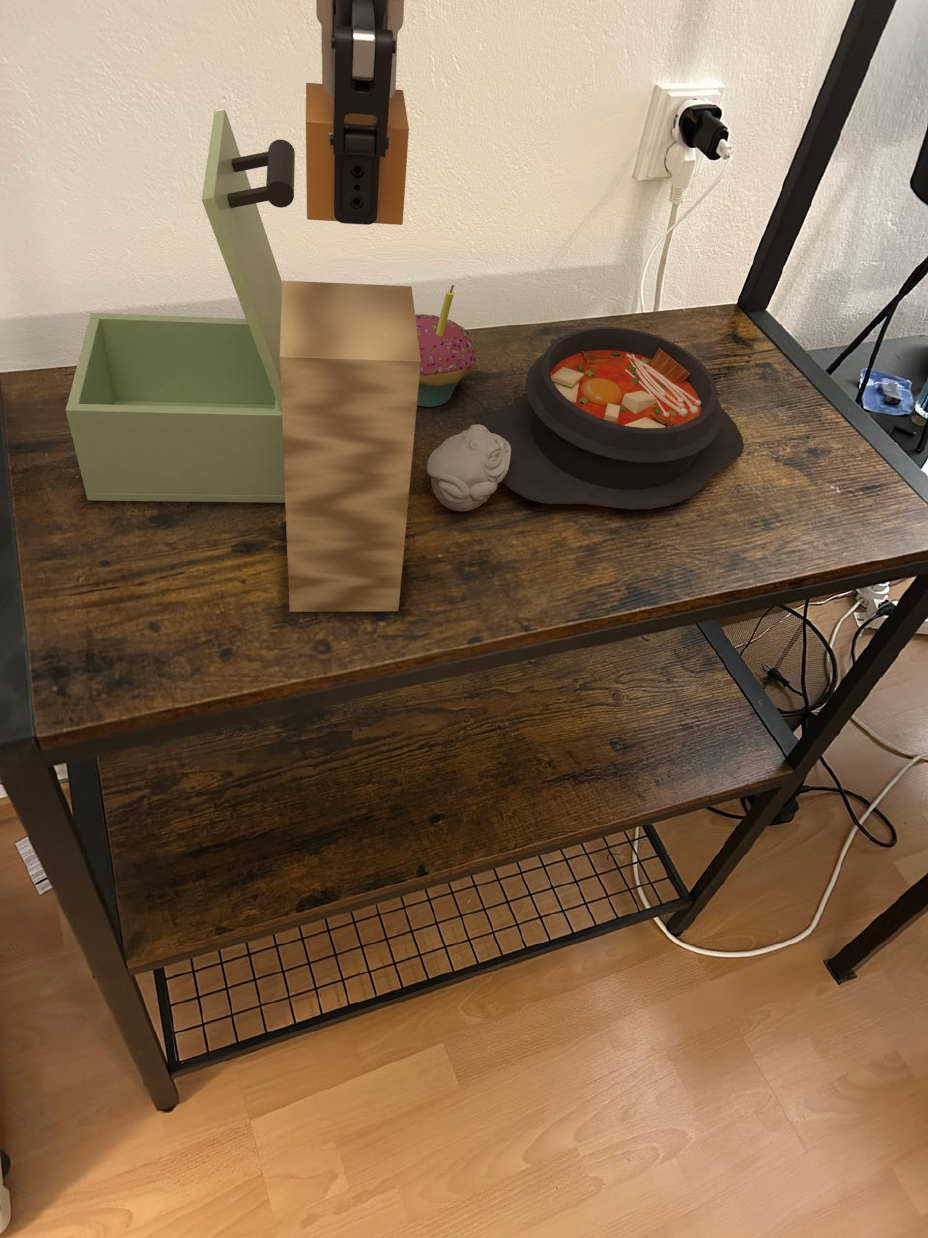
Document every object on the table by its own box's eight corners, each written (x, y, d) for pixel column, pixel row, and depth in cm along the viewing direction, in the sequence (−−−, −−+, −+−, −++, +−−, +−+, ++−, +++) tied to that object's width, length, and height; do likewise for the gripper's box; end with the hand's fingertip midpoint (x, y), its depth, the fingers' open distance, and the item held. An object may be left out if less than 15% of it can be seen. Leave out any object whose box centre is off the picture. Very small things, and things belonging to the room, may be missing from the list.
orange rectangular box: (306, 219, 50) (305, 120, 47) (307, 178, 53) (305, 81, 50) (402, 225, 51) (409, 127, 47) (397, 184, 54) (403, 89, 50)
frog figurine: (515, 517, 80) (528, 451, 75) (438, 536, 78) (446, 469, 73) (483, 471, 84) (494, 405, 79) (409, 487, 81) (415, 420, 76)
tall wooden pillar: (289, 612, 71) (279, 356, 55) (290, 535, 76) (282, 279, 60) (398, 611, 72) (421, 360, 56) (392, 535, 77) (411, 285, 61)
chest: (87, 500, 76) (65, 409, 70) (108, 401, 84) (90, 312, 78) (288, 503, 79) (285, 415, 72) (290, 406, 87) (288, 319, 80)
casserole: (667, 371, 97) (691, 296, 90) (778, 491, 86) (814, 415, 80) (439, 416, 88) (448, 336, 82) (533, 556, 78) (551, 476, 71)
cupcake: (488, 396, 91) (506, 280, 82) (424, 433, 86) (437, 313, 77) (423, 354, 94) (434, 237, 85) (359, 387, 90) (363, 267, 81)
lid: (201, 199, 59) (282, 182, 59) (214, 111, 67) (285, 96, 67) (280, 411, 72) (347, 398, 71) (283, 315, 80) (343, 304, 79)
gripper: (274, -260, 43) (285, 133, 56) (264, -187, 34) (280, 263, 47) (440, -239, 44) (414, 142, 57) (474, -162, 35) (434, 270, 48)
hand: (353, 195), depth 52 cm, fingers closed on orange rectangular box, 4 cm apart
